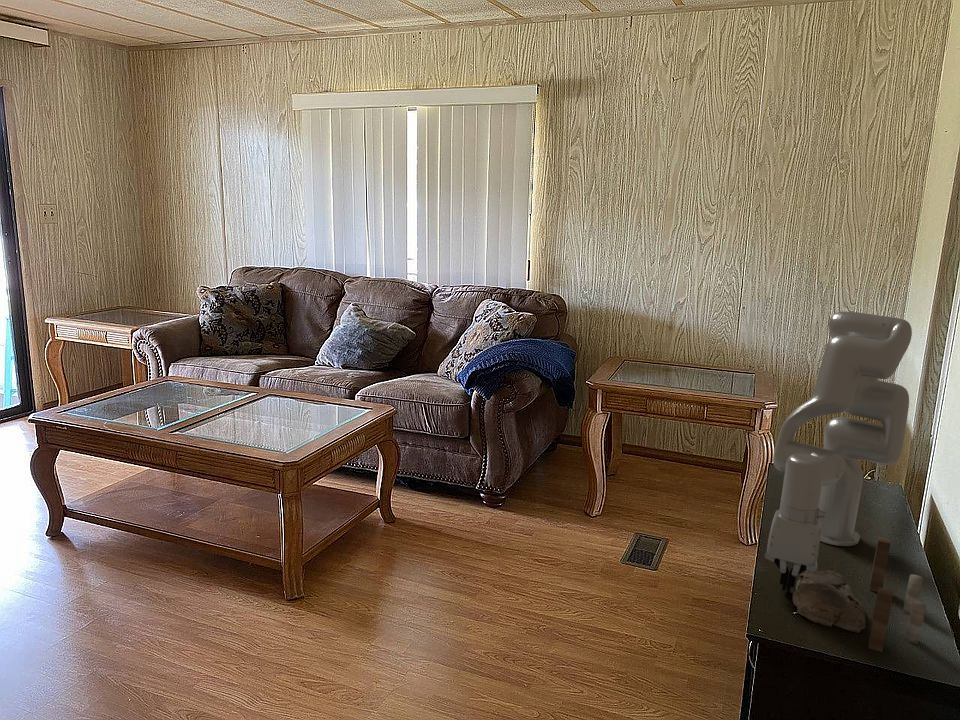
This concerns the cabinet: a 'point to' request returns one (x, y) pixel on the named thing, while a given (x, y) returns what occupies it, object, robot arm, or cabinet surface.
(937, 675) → the cabinet surface
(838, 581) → the clay tablet
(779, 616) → the cabinet surface
